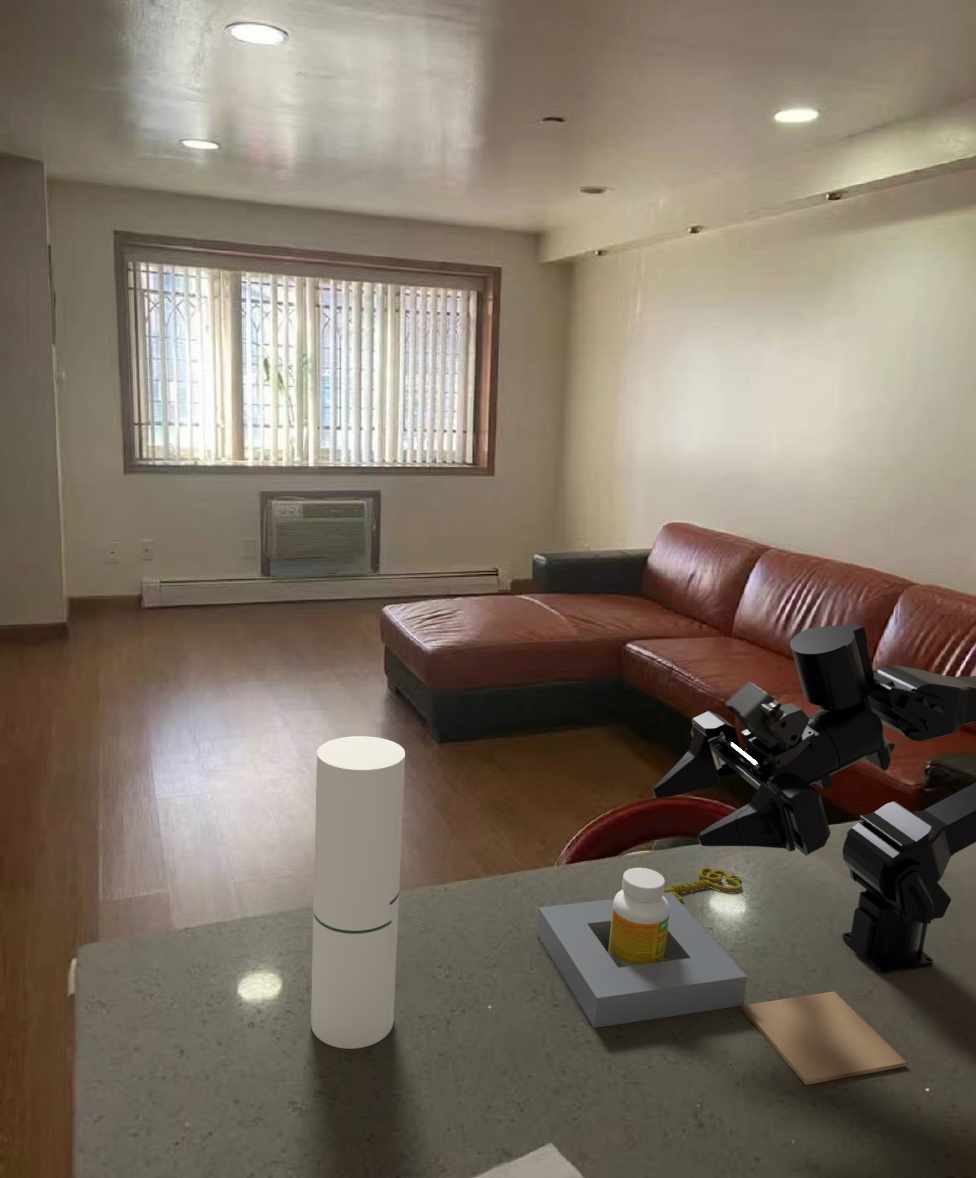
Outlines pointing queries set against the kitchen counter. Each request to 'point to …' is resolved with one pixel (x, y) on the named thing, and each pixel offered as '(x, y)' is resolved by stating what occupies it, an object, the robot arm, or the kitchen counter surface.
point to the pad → (822, 1037)
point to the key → (706, 883)
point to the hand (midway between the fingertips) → (675, 815)
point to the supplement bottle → (639, 919)
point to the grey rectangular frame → (638, 966)
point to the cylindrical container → (356, 889)
